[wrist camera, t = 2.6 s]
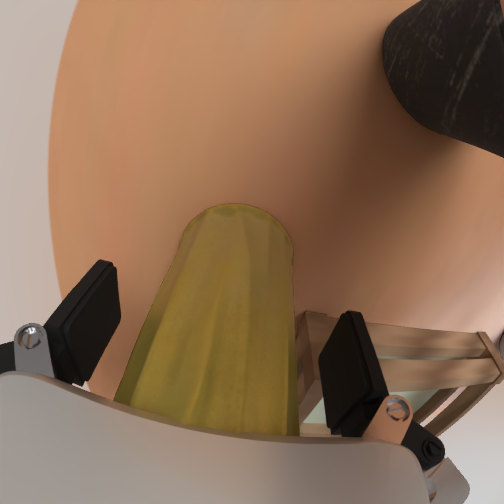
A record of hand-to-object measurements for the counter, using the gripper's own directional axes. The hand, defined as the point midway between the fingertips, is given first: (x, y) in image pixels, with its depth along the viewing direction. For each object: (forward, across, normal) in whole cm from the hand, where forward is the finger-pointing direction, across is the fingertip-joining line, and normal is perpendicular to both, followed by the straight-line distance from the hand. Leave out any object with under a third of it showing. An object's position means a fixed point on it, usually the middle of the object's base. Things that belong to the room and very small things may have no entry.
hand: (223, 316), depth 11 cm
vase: (+5, 0, 0) cm, 5 cm away
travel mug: (+5, -8, -13) cm, 16 cm away
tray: (+5, -14, +10) cm, 18 cm away
